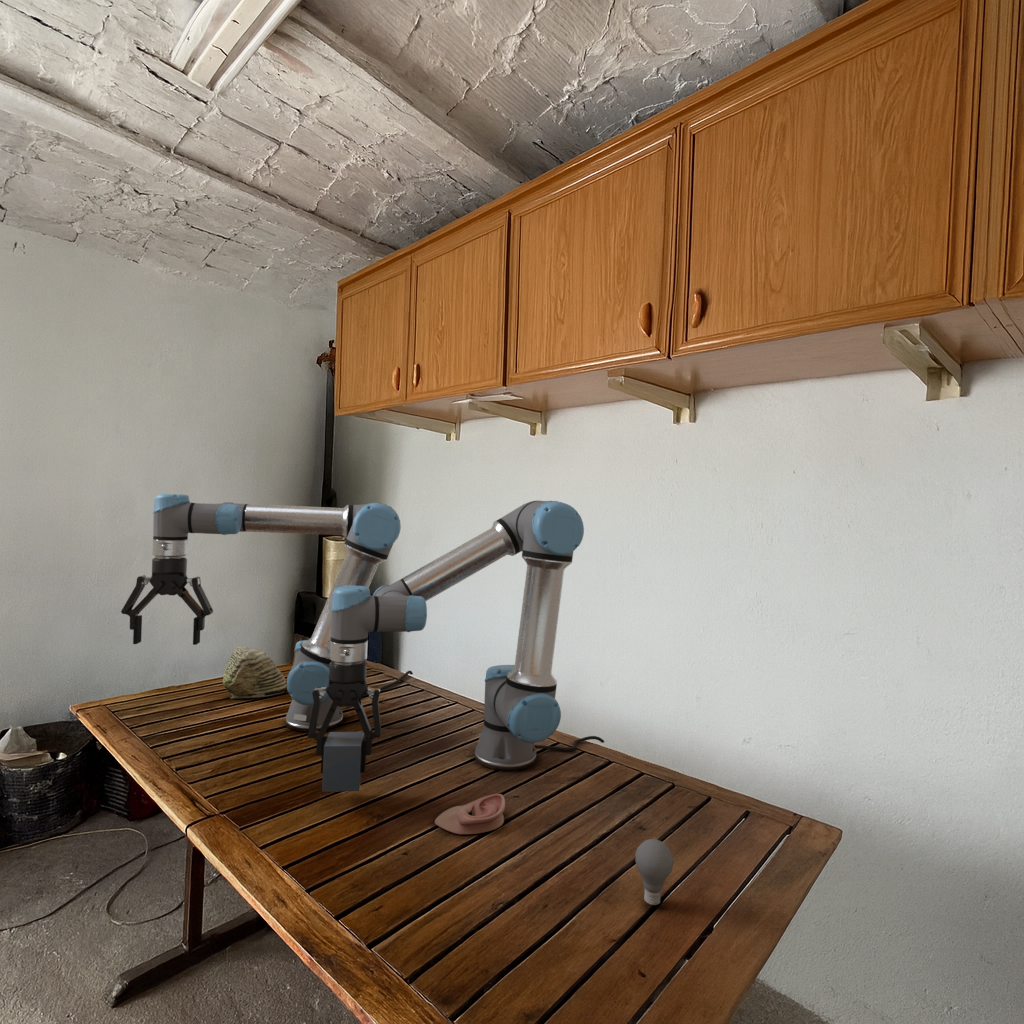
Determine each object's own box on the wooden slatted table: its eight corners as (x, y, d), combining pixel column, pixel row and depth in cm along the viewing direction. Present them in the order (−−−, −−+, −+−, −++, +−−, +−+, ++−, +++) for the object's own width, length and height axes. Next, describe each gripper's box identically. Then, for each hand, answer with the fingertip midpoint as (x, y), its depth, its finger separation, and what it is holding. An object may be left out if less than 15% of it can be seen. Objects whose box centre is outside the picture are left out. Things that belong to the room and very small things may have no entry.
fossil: (218, 695, 195) (220, 647, 195) (278, 685, 208) (279, 640, 207) (228, 703, 189) (230, 653, 188) (289, 692, 201) (290, 645, 201)
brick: (321, 792, 127) (323, 746, 127) (327, 775, 135) (329, 731, 135) (359, 791, 128) (361, 745, 128) (362, 774, 136) (364, 731, 136)
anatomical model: (430, 809, 122) (447, 784, 133) (429, 830, 122) (447, 802, 133) (497, 819, 119) (509, 792, 130) (496, 840, 119) (508, 811, 131)
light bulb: (629, 891, 105) (631, 831, 105) (664, 890, 106) (667, 831, 106) (639, 914, 99) (642, 851, 99) (676, 914, 100) (679, 851, 100)
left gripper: (107, 556, 149) (104, 646, 150) (218, 559, 153) (215, 647, 153) (122, 553, 157) (119, 639, 157) (228, 557, 160) (225, 640, 161)
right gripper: (294, 665, 126) (289, 778, 127) (397, 666, 129) (392, 777, 130) (301, 655, 134) (296, 763, 134) (398, 656, 137) (393, 762, 137)
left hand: (166, 643), depth 155 cm, fingers open, 13 cm apart
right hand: (343, 770), depth 132 cm, fingers closed on brick, 7 cm apart
